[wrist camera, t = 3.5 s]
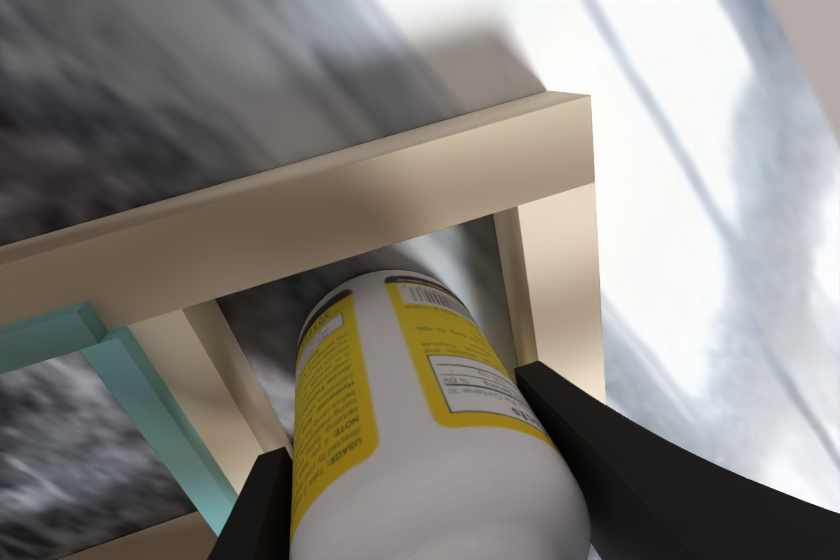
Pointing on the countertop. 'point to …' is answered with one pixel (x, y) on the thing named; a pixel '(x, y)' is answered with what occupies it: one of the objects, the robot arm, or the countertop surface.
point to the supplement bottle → (420, 437)
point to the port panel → (293, 253)
